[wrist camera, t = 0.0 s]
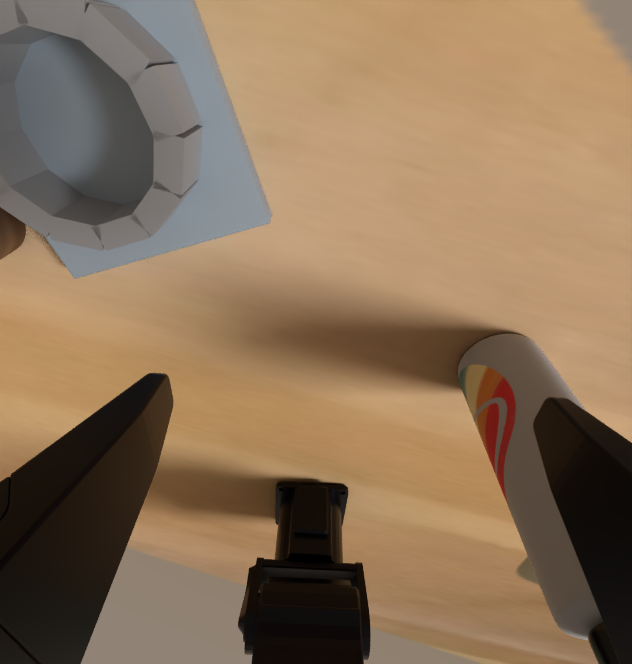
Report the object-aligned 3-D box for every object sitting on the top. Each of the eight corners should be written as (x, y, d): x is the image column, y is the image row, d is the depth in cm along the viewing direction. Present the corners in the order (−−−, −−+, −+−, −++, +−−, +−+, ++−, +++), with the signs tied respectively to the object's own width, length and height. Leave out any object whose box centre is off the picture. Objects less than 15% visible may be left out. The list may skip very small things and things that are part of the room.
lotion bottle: (442, 386, 29) (592, 818, 13) (477, 323, 26) (737, 794, 10) (514, 399, 30) (745, 828, 13) (558, 339, 27) (929, 807, 10)
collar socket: (272, 215, 22) (262, 246, 19) (84, 269, 24) (44, 306, 21) (151, -117, 15) (99, -167, 11) (-100, 2, 17) (-207, -10, 14)
